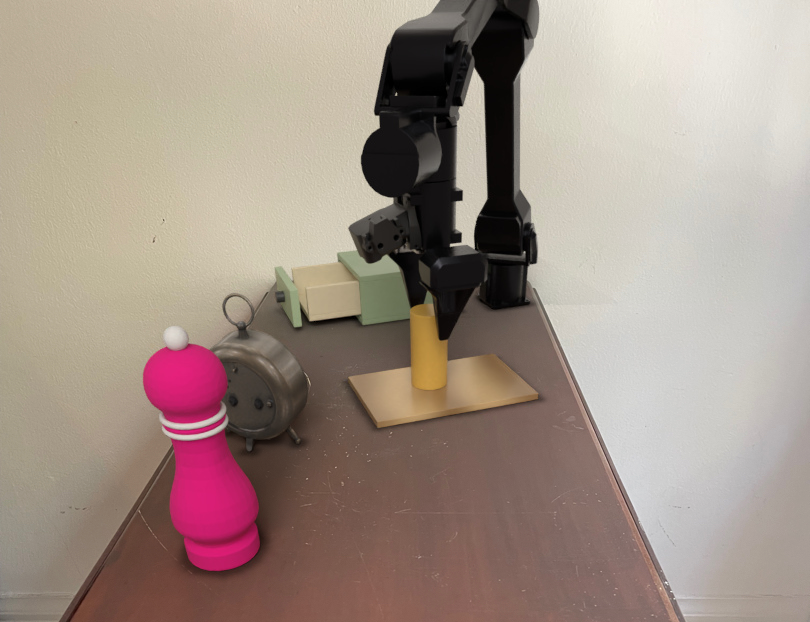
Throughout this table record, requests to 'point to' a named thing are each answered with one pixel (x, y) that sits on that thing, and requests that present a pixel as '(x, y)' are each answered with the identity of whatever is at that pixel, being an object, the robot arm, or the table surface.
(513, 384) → the board
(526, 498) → the table surface
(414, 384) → the yellow cylinder
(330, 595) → the table surface
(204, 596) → the table surface
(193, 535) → the pepper mill
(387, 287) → the cabinet
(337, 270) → the drawer
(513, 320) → the table surface
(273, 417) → the alarm clock
